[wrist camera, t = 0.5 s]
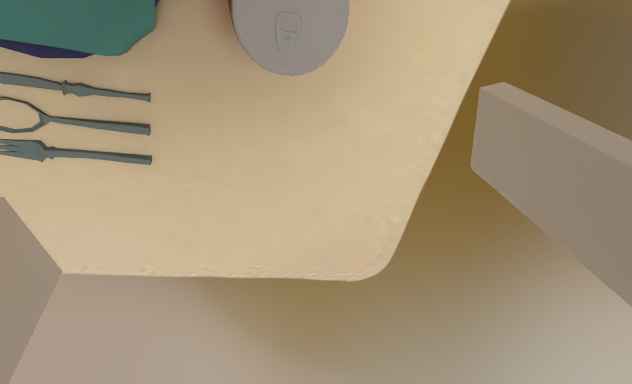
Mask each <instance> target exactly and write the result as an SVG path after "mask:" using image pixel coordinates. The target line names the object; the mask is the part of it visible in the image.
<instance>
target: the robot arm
mask: <svg viewBox="0 0 632 384" xmlns="http://www.w3.org/2000/svg"><path fill="white" fill-rule="evenodd" d="M470 167H471V169H472V170H474V171H475V172H476V173H477V174H478V175H479V176H481V177H482V178H483V179H484V180H485V181H486V182H487V183H489V184H490V185H491V186H492V187H493V188H495V189H496V190H497V191H498V192H499V193H500V194H501V195H503V196H504V197H505V198H506V199H507V200H508V201H510V202H511V203H512V204H513V205H514V206H515V207H517V208H518V209H519V210H520V211H521V212H522V213H523V214H525V215H526V216H527V217H528V218H529V219H530V220H532V221H533V222H534V223H535V224H536V225H537V226H539V227H540V228H541V229H542V230H543V231H544V232H546V233H547V234H548V235H549V236H550V237H551V238H552V239H554V240H555V241H556V242H557V243H558V244H559V245H561V246H562V247H563V248H564V249H565V250H567V251H568V252H569V253H570V254H571V255H572V256H573V257H574V258H576V259H577V260H578V261H579V262H580V263H581V264H583V265H584V266H585V267H586V268H587V269H588V270H590V271H591V272H592V273H593V274H594V275H595V276H597V277H598V278H599V279H600V280H601V281H602V282H603V283H605V284H606V285H607V286H608V287H609V288H610V289H612V290H613V291H614V292H615V293H616V294H617V295H619V296H620V297H621V298H622V299H623V300H624V301H626V302H627V303H628V304H629V305H630V306H631V307H632V141H631V140H629V139H627V138H624V137H622V136H620V135H618V134H616V133H614V132H611V131H609V130H607V129H605V128H602V127H601V126H598V125H596V124H594V123H592V122H590V121H588V120H585V119H583V118H581V117H579V116H577V115H575V114H572V113H570V112H568V111H566V110H564V109H562V108H560V107H557V106H555V105H553V104H551V103H549V102H546V101H544V100H542V99H540V98H538V97H536V96H533V95H531V94H529V93H527V92H525V91H523V90H521V89H518V88H516V87H514V86H512V85H510V84H508V83H505V82H502V83H498V84H493V85H489V86H485V87H480V94H479V102H478V110H477V118H476V126H475V135H474V142H473V150H472V158H471V166H470ZM61 273H62V270H61V269H60V268H59V266H58V265H57V264H56V263H55V261H54V260H53V259H52V258H51V256H50V255H49V254H48V253H47V251H46V250H45V249H44V247H43V246H42V245H41V244H40V242H39V241H38V240H37V239H36V237H35V236H34V235H33V234H32V232H31V231H30V230H29V229H28V227H27V226H26V225H25V223H24V222H23V221H22V220H21V218H20V217H19V216H18V215H17V213H16V212H15V211H14V210H13V208H12V207H11V206H10V205H9V203H8V202H7V201H6V199H5V198H4V197H1V198H0V384H9V381H10V380H11V377H12V375H13V373H14V371H15V369H16V367H17V365H18V363H19V361H20V358H21V357H22V354H23V352H24V350H25V348H26V346H27V344H28V342H29V340H30V338H31V336H32V334H33V331H34V329H35V327H36V325H37V323H38V321H39V319H40V317H41V315H42V313H43V311H44V308H45V306H46V304H47V302H48V300H49V298H50V296H51V294H52V292H53V290H54V288H55V285H56V283H57V281H58V279H59V277H60V275H61Z"/></svg>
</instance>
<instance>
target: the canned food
mask: <svg viewBox="0 0 632 384" xmlns="http://www.w3.org/2000/svg"><path fill="white" fill-rule="evenodd" d="M228 2H229V7H230V13H231V18H232V23H233V26H234V29H235V32H236V35H237V37H238V40H239V41H240V43H241V45H242V47H243V48H244V50H245V51H246V52H247V54H248V55H249V56H250V57H251V58H252V59H253V60H254V61H255V62H256V63H258V64H259V65H260V66H261V67H263V68H265V69H267V70H268V71H270V72H273V73H276V74H280V75H288V76H294V75H301V74H305V73H308V72H310V71H313V70H315V69H316V68H318V67H319V66H321V65H323V64H324V63H325V62H326V61H327V60H328V59H329V58H330V57H331V56H332V55H333V53H334V52H335V51H336V49H337V48H338V46H339V44H340V42H341V40H342V38H343V36H344V33H345V30H346V27H347V22H348V15H349V0H228Z"/></svg>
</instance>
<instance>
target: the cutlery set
mask: <svg viewBox="0 0 632 384" xmlns="http://www.w3.org/2000/svg"><path fill="white" fill-rule="evenodd" d="M158 1H159V0H0V47H3V48H7V49H10V50H14V51H18V52H21V53H25V54H29V55H32V56H36V57H40V58H85V57H88V56H91V55H94V54H98V55H106V56H117V55H122V54H124V53H126V52H128V51H129V50H130V48H131V47H132V46H133V45H134V44H135V43H137V42H138V41H139V40H140V39H141V38H143V37H144V36H145V35H147V34H149V33H150V32H152V31H153V29H154V27H155V7H156V5H157V3H158ZM0 83H4V84H12V85H20V86H28V87H36V88H45V89H53V90H61V91H63V94H64V96H65V95H66V94H67V93H73V94H75V95H77V96H79V97H80V96H88V95H101V96H110V97H126V98H132V99H139V100H145V101H148V102H150V94H148V95H141V94H130V93H121V92H115V91H110V90H102V89H94V88H92V87H89V86H86V85H84V84H81V83H78V84H74V85H73V84H70V83H68V82H67V81H66V80H65V81H64V82H63V83H62V84H61V83H58V82H54V81H50V80H46V79H42V78H37V77H32V76H25V75H18V74H11V73H3V72H0ZM0 100H12V101H16V102H20V103H24V102H21V101H17V100H13V99H10V98H0ZM24 104H26V105H28V106H29V107H31V108H32V109H34V110H35V111H37V112H38V114H39V118H40V122H39V123H38V124H36V125H35V126H33V127H32V128H25V129H12V128H8V127H3V126H0V130H1V131H5V132H10V133H22V132H33V131H35V130H37V129H39V128H40V127H42V126H44V125H46V124H47V123H48V122H50V121H52V122H58V123H63V124H70V125H77V126H84V127H90V128H96V129H104V130H112V131H119V132H127V133H135V134H145V135H150V125H138V124H123V123H111V122H99V121H89V120H81V119H70V118H61V117H52V116H48V115H46V114H43V113H41V112H39V111H38V110H36V109H35V108H33V107H32V106H31V105H29V104H28V103H24ZM0 143H2V144H8V145H0V149H5V150H10V151H0V154H1V155H8V156H14V157H20V158H27V159H33V160H38V161H41V162H43V161H44V159H45V158H46V157H48V158H50V159H53V158H54V157H70V158H90V159H101V160H110V161H118V162H126V163H136V164H147V165H151V162H152V156H144V155H131V154H122V153H111V152H99V151H87V150H69V149H55V147H46V145H45V144H44V143H43V142H42V141H39V140H10V139H0Z"/></svg>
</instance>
